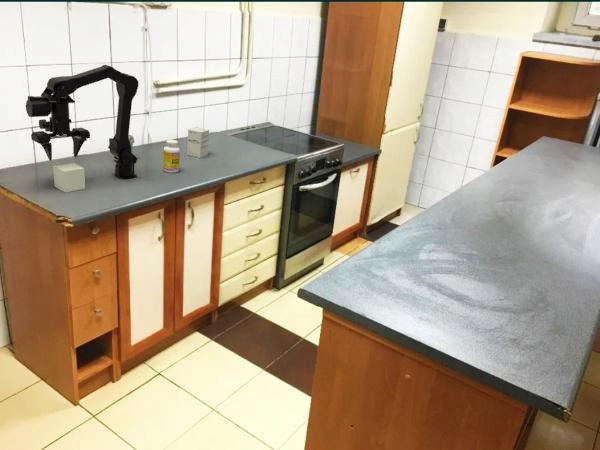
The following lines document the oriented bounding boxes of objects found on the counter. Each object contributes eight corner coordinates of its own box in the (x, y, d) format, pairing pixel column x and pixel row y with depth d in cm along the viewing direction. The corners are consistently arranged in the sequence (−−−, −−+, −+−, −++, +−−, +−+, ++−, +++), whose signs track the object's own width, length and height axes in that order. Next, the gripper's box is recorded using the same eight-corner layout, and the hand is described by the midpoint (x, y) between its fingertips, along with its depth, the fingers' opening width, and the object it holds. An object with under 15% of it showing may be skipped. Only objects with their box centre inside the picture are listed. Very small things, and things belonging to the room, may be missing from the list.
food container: (125, 164, 219) (125, 141, 215) (112, 162, 219) (111, 139, 216) (139, 157, 230) (139, 135, 226) (126, 155, 231) (126, 133, 227)
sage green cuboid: (74, 182, 192) (72, 162, 189) (85, 188, 188) (84, 168, 185) (54, 186, 186) (53, 165, 183) (65, 192, 182) (64, 171, 179)
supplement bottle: (171, 174, 215) (172, 144, 210) (159, 170, 218) (160, 140, 213) (182, 171, 220) (183, 141, 215) (171, 167, 223) (171, 138, 218)
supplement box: (186, 155, 242) (187, 128, 237) (195, 152, 249) (196, 126, 244) (199, 158, 240) (201, 132, 235) (208, 155, 247) (209, 129, 242)
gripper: (74, 109, 191) (76, 149, 197) (22, 112, 177) (25, 156, 183) (90, 115, 184) (91, 157, 191) (37, 119, 171) (40, 164, 177)
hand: (62, 158), depth 185 cm, fingers open, 9 cm apart
